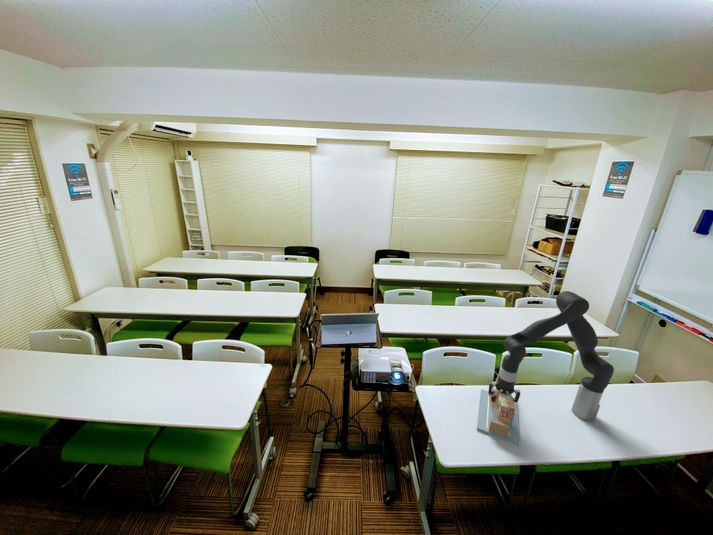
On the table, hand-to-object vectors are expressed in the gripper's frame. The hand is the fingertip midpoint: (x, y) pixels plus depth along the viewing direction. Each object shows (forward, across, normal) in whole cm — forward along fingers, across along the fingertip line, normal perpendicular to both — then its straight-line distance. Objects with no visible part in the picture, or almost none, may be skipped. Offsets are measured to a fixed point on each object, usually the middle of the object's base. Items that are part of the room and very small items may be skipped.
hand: (500, 403), depth 145 cm
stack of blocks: (+5, 0, -1) cm, 5 cm away
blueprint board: (+7, 0, 0) cm, 7 cm away
